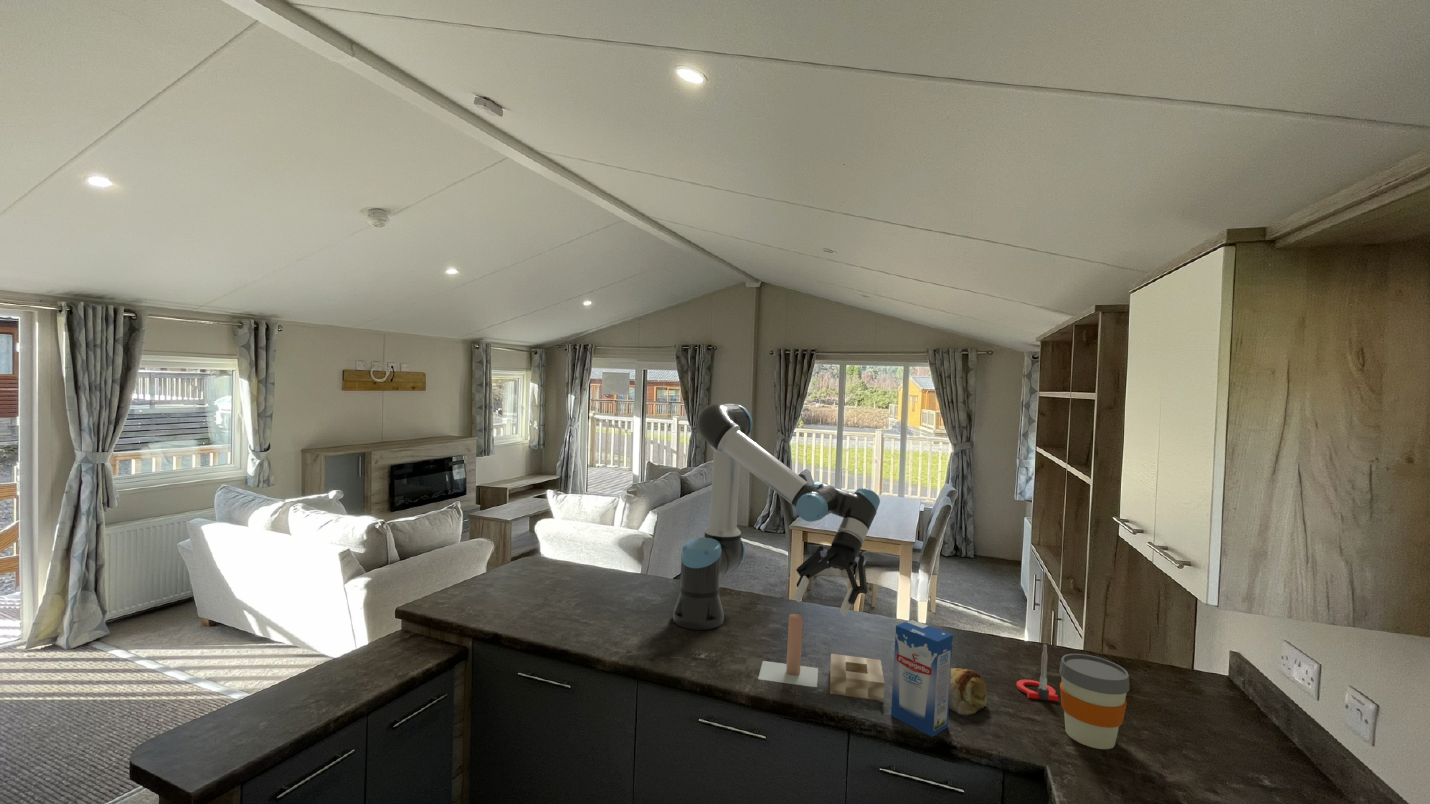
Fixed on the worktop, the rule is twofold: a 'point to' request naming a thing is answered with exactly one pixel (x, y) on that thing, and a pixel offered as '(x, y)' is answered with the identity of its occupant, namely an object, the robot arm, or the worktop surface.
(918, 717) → the milk carton
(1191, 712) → the worktop surface
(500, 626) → the worktop surface
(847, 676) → the hole block
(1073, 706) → the reusable coffee cup
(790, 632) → the peg
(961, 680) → the pastry
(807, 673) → the mat
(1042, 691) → the tow hook
